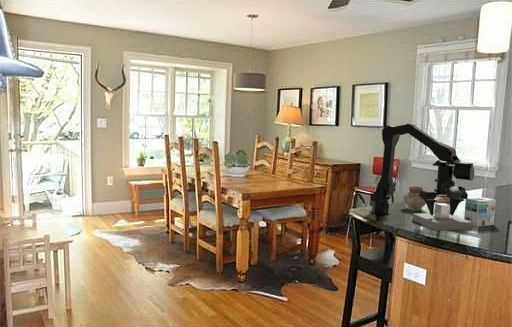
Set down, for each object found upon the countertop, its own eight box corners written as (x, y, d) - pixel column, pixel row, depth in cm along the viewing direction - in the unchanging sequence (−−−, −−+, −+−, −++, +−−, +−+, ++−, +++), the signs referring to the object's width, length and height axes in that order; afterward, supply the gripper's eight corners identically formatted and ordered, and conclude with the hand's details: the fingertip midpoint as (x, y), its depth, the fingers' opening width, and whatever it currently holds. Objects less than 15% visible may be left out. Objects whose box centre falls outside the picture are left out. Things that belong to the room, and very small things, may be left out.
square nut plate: (435, 230, 166) (436, 223, 166) (412, 220, 182) (413, 213, 181) (471, 229, 169) (472, 222, 169) (446, 219, 185) (446, 213, 185)
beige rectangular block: (439, 224, 173) (441, 205, 172) (433, 222, 177) (435, 203, 176) (448, 224, 174) (450, 205, 173) (442, 222, 178) (444, 203, 177)
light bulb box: (477, 227, 174) (479, 200, 173) (462, 223, 180) (464, 197, 179) (494, 224, 179) (496, 199, 178) (479, 221, 185) (481, 196, 184)
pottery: (453, 218, 189) (455, 191, 187) (398, 209, 205) (400, 184, 204) (461, 214, 197) (463, 189, 196) (408, 206, 213) (409, 182, 212)
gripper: (436, 180, 164) (433, 220, 165) (478, 180, 167) (475, 219, 169) (419, 176, 175) (416, 214, 176) (460, 176, 178) (457, 213, 180)
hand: (441, 215), depth 175 cm, fingers open, 9 cm apart
